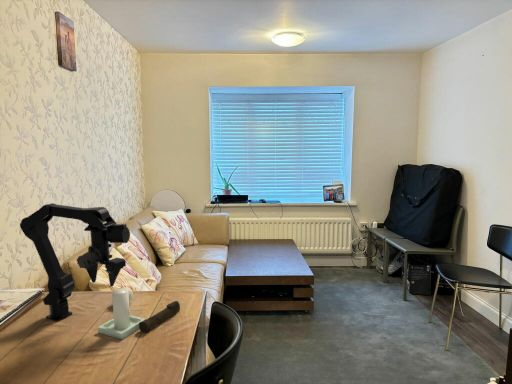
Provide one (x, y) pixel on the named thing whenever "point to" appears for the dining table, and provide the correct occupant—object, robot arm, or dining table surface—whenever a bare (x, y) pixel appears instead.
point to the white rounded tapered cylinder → (121, 309)
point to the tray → (120, 334)
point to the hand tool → (159, 317)
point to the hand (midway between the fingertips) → (102, 284)
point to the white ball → (129, 293)
